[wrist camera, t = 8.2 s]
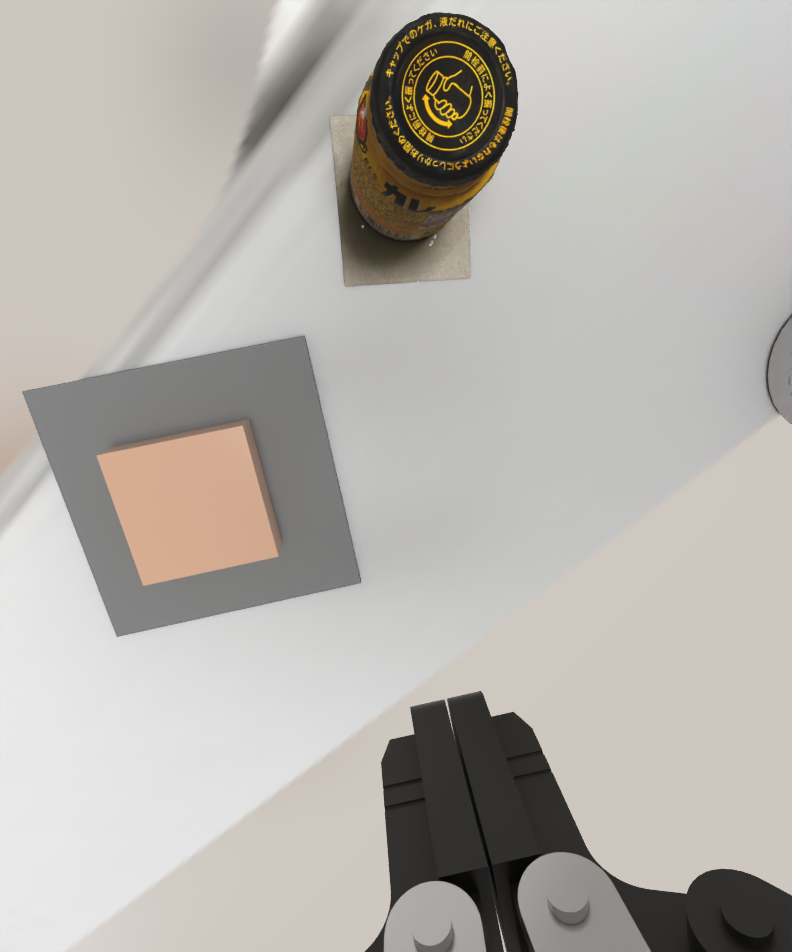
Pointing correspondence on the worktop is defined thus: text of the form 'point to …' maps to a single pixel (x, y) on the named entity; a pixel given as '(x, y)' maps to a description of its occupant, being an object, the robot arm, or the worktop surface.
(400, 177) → the condiment
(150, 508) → the tile
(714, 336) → the worktop surface
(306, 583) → the mat
